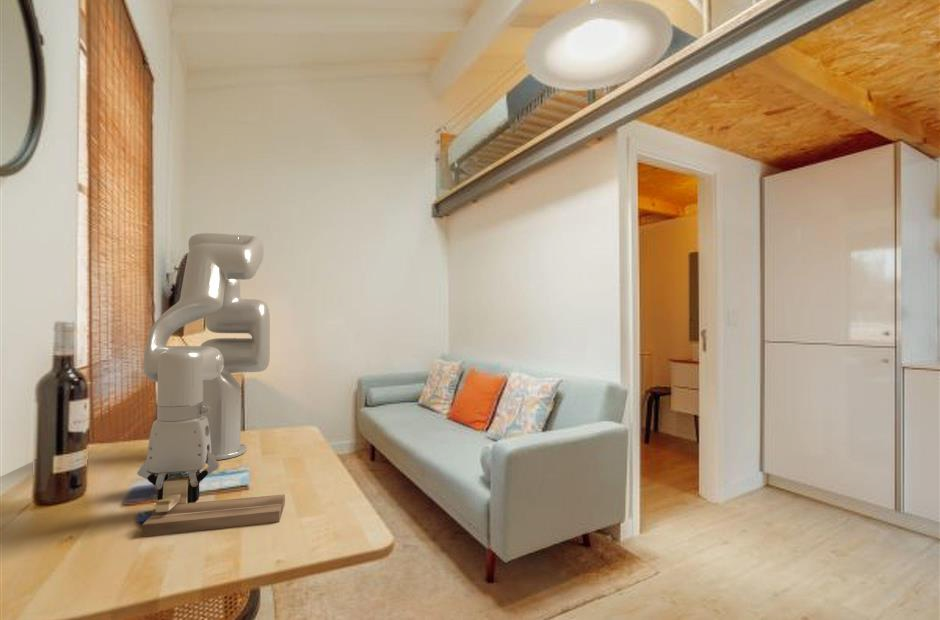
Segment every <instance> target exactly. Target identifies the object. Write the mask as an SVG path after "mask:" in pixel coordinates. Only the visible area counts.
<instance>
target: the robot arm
mask: <svg viewBox="0 0 940 620" xmlns="http://www.w3.org/2000/svg"><path fill="white" fill-rule="evenodd" d="M263 246H264V245H263V243H262V241H261V240H260V238H258V237H257V236H254V235H245V234H244V235H243V234H229V233H218V232H217V233H209V232H206V233H197V234H194V235H192V236H190V237H189V240H188V252H187V255H186V256H187V257H186V262H185V267H184V272H183V278H182V284H181V290H180V296H179V300H178V301H177V302H176V303H175V304H174V305H172V306H170V307H169V309H167V310H166V311H164V313H162V314H161V315H160V316H159V317H158V319H157V320H155V322H154V324H153V325H152V326H151V328H150V330H149V332H148V336H147V339H146V344H145V349H144V354H143V359H142V360H143V361H142V369H143V370H142V371H143V374H144V376H145V377H146V379H148V380H150V381H151V382H156V383H157V394H156V395H157V400H156V401H157V407H156V408H157V410H156V420H154V421H153V423H152V425H151V429H150V434H149V439H148V445H147V456H146V459H145V461H144V463H143V464H142V465H141V467H140V468H139V469H138V470H137V471H136V475H138V476H139V477H141V478H143V479H146V480H147V481H148V482H149V483H150V484H152V485H154V488H155V489H156V490H157V489H158V490H157V501H158V500H163V482H164V481H165V480H167V479H168V478H169V473H175V472H188V473H189V478H190V486H189V487H188V503H195V502H199V498H200V483H201V482H202V481H203V480H204V479H206V477H207V476H208V475H210V474H212V473H213V472H215V471H216V470H218V468H219V467H220V464H219V462H218V461H220V460H226V459H231V458H235V457H238V456H240V455H243V454H244V453H246V452H247V445H245V444H243V443H241V435H242V432H241V428H242V427H241V423H242V388H241V385H240V383H239V381H237V379H236V378H235V377H234V376H233V375H232V374H235V373H236V374H237V373H240V374H241V373H261V372H263V371H265V370H266V369H267V368H268V367H269V364H270V358H271V357H270V355H271V351H270V349H271V346H270V345H271V344H270V343H271V338H270V336H271V335H270V334H271V328H270V327H271V320H270V309H269V307H268V304H267V303H266V302H265V301H264V300H261V299H256V298H255V299H249V298H248V299H247V298H242V297H241V281H242V280H250V279H253V278H254V277H255V276H256V273H257V272H258V270H259V268H260V266H261V264H262V262H263V259H264V247H263ZM240 280H241V281H240ZM201 319H204V321H205V323H204V324H205V327H206V330H207V331H210V332H211V333H215V334H248V335H250V338H249V337H246V338H245V337H244V338H241V337H240V338H238V337H220V338H218V337H217V338H211V339H207V340H205V341H204V342H202V343H201V345H195V346H194V345H167V343H168V341H169V340H170V338H171V337H172V335H173V334H174V333H175V332H176V331H178V330H179V329H181V328H183V327H184V326H186V325H188V324H191V323H193V322H197V321H199V320H201ZM206 464H207V467H206ZM205 467H206V468H205ZM201 470H202V471H201Z"/></svg>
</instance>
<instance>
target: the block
mask: <svg viewBox="0 0 940 620" xmlns="http://www.w3.org/2000/svg"><path fill="white" fill-rule="evenodd" d="M189 486H190V478H189V475H181V476H171V477H169V478H168V479H167V480H165V481H164V482H163V500H158V499H157V501H156V503H155V511H156V512H167V511H169V510H171V509H172V508H173V507H174V506H175V505H176V504H184V503H188V487H189Z"/></svg>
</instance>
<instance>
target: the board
mask: <svg viewBox="0 0 940 620" xmlns="http://www.w3.org/2000/svg"><path fill="white" fill-rule="evenodd" d="M285 502H286V494H273V495H264V496H263V495H262V496H251V497H241V498H240V497H239V498H229V499H219V500H208V501H196V502H195V503H184V504H176V505H175V506H174V507H173V508H172V509H171V510H169V511H167V512H156V510H155V511H154V512H153V513H152V514H151V515H150V516H149V517H148V518H146V521H144V522H143V523H142V525H141V528H142V529H141V537H148V536H149V537H150V536H158V535H159V536H161V535H168V534H169V535H170V534H177V533H178V534H179V533H186V532H187V533H188V532H195V531H197V532H198V531H206V530H216V529H225V528H232V527H233V528H234V527H235V528H236V527H243V526H244V527H245V526H254V525H263V524H271V523H280V521H281V518H282V514H283V511H284V508H285V505H286V503H285Z"/></svg>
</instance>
